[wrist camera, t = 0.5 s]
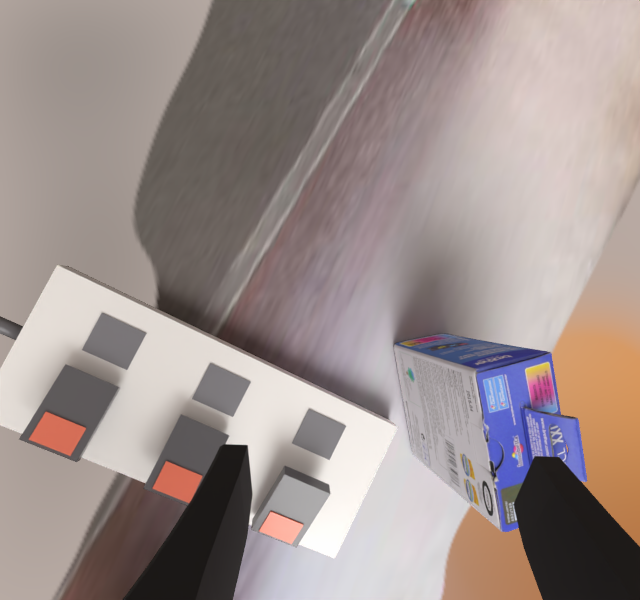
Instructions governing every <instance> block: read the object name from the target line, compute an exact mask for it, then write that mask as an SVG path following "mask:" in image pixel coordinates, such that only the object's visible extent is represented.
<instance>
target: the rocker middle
mask: <svg viewBox="0 0 640 600" xmlns="http://www.w3.org/2000/svg"><path fill="white" fill-rule="evenodd" d="M228 438H229V435H228V434H226V433H223V432H221V431H219V430H216V429H214V428H212V427H210V426H207V425H205V424H203V423H200V422H198V421H196V420H194V419H191V418H189V417H187V416H184V415H182V414H181V415H180V417H179V419H178V421H177V423H176V425H175V427H174V429H173V431H172V433H171V434H170V436H169V438H168V440H167V442H166V444H165V446H164V448H163V450H162V452H161V454H160V456H159V458H158V460H157V462H156V464H155V466H154V468H153V470H152V472H151V474H150V476H149V478H148V480H147V482H146V484H145V486H144V488H143V489H146V490H148V491H151V492H154V493H156V494H159V495H161V496H164V497H166V498H169V499H171V500H174V501H176V502H179V503H181V504H184V505H186V506H188V504H189V503H190V501H191V500H192V498H193V496H194V494H195V493H196V491H197V489H198V488H199V486H200V484H201V482H202V481H203V479H204V477H205V475H206V473H207V471H208V470H209V468H210V466H211V464H212V462H213V460H214V458H215V456H216V454H217V452H218V450H219V447H220V446H222V445H223V444H226V442H227V440H228Z"/></svg>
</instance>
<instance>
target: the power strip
mask: <svg viewBox="0 0 640 600" xmlns="http://www.w3.org/2000/svg"><path fill="white" fill-rule="evenodd" d="M0 334H3V335H5V336H8V337H10V338H12V339H15V340H16V341H15V343H14V345H13V347H12V348H11V350H10V352H9V354H8V356H7V357H6V359H5V361H4V363H3V365H2V366H1V368H0V425H1V426H3V427H6V428H8V429H11V430H13V431H16V432H18V433H21V434H23V432H24V430H25V429H26V427H27V426H28V424H29V422H30V421H31V419H32V417H33V416H34V414H35V413H36V411H37V409H38V408H39V406H40V405H41V403H42V401H43V400H44V398H45V396H46V395H47V393H48V392H49V390H50V388H51V387H52V385H53V384H54V382H55V380H56V379H57V377H58V375H59V374H60V372H61V371H62V369H63V367H64V366H65V364H67V365H70V366H72V367H74V368H77V369H79V370H81V371H83V372H86V373H88V374H90V375H93V376H95V377H97V378H99V379H102V380H104V381H106V382H109V383H111V384H113V385H116V386H118V387H120V390H119V392H118V393H117V395H116V397H115V399H114V400H113V402H112V404H111V406H110V408H109V409H108V411H107V413H106V415H105V416H104V418H103V420H102V422H101V423H100V425H99V427H98V429H97V431H96V432H95V434H94V436H93V438H92V439H91V441H90V443H89V445H88V447H87V448H86V450H85V452H84V454H83V455H82V457H81V458H84V459H86V460H89V461H91V462H94V463H96V464H99V465H101V466H104V467H106V468H109V469H111V470H114V471H116V472H119V473H121V474H124V475H126V476H129V477H131V478H134V479H136V480H139V481H141V482H144V483H146V482H147V480H148V478H149V476H150V474H151V472H152V470H153V468H154V466H155V464H156V462H157V460H158V458H159V456H160V454H161V452H162V450H163V448H164V446H165V444H166V442H167V440H168V438H169V436H170V434H171V433H172V431H173V429H174V427H175V425H176V423H177V421H178V419H179V417H180V415H181V414H182V415H184V416H187V417H189V418H191V419H194V420H196V421H198V422H200V423H203V424H205V425H207V426H210V427H212V428H214V429H216V430H219V431H221V432H223V433H226V434H228V435H229V438H228V440H227V442H226V444H234V445H248V453H249V463H250V473H251V483H252V493H253V495H252V503H251V511H250V519H249V525H252V519H253V517H254V516H255V514H256V512H257V511H258V509H259V507H260V506H261V504H262V502H263V501H264V499H265V497H266V496H267V494H268V492H269V491H270V489H271V487H272V486H273V484H274V482H275V481H276V479H277V477H278V476H279V474H280V472H281V471H282V469H283V467H284V466H287V467H290V468H292V469H294V470H297V471H299V472H301V473H304V474H306V475H308V476H311V477H313V478H315V479H317V480H320V481H322V482H324V483H327V484H329V487H330V496H329V497H328V499H327V500H326V502H325V503H324V505H323V507H322V508H321V510H320V511H319V513H318V514H317V516H316V518H315V519H314V521H313V522H312V524H311V525H310V527H309V529H308V530H307V532H306V533H305V535H304V536H303V538H302V540H301V541H300V543H299V545H302V546H304V547H307V548H310V549H312V550H315V551H317V552H320V553H322V554H325V555H327V556H330V557H332V558H335V557H336V555H337V553H338V551H339V549H340V547H341V545H342V543H343V541H344V539H345V536H346V534H347V532H348V530H349V528H350V526H351V524H352V522H353V520H354V518H355V516H356V514H357V512H358V510H359V507H360V505H361V503H362V501H363V499H364V497H365V495H366V493H367V491H368V489H369V487H370V485H371V483H372V480H373V478H374V476H375V474H376V472H377V470H378V468H379V466H380V464H381V462H382V460H383V458H384V456H385V454H386V451H387V449H388V447H389V445H390V443H391V441H392V439H393V437H394V435H395V433H396V431H397V429H398V427H397V426H396V425H395V424H394V423H392V422H391V421H390V420H389V419H386V418H384V417H382V416H380V415H378V414H376V413H374V412H372V411H370V410H368V409H366V408H363V407H361V406H359V405H357V404H355V403H353V402H351V401H349V400H347V399H345V398H343V397H340V396H338V395H336V394H334V393H332V392H330V391H328V390H326V389H324V388H322V387H320V386H317V385H315V384H313V383H311V382H309V381H307V380H305V379H303V378H301V377H299V376H297V375H294V374H292V373H290V372H288V371H286V370H284V369H282V368H280V367H278V366H276V365H274V364H271V363H269V362H267V361H265V360H263V359H261V358H259V357H257V356H255V355H253V354H251V353H248V352H246V351H244V350H242V349H240V348H238V347H236V346H234V345H232V344H230V343H228V342H225V341H223V340H221V339H219V338H217V337H215V336H213V335H211V334H209V333H207V332H204V331H202V330H200V329H198V328H196V327H194V326H192V325H190V324H188V323H186V322H184V321H181V320H179V319H177V318H175V317H173V316H171V315H169V314H167V313H165V312H163V311H161V310H158V309H156V308H154V307H152V306H150V305H148V304H146V303H144V302H142V301H140V300H137V299H135V298H133V297H131V296H129V295H127V294H125V293H123V292H121V291H118V290H116V289H115V288H112V287H110V286H108V285H106V284H104V283H102V282H100V281H98V280H96V279H94V278H92V277H89V276H87V275H85V274H83V273H81V272H79V271H77V270H75V269H73V268H70V267H69V266H62V265H57V266H56V268H55V270H54V272H53V274H52V275H51V277H50V279H49V281H48V283H47V285H46V286H45V288H44V290H43V292H42V294H41V295H40V297H39V299H38V301H37V303H36V305H35V306H34V308H33V310H32V312H31V314H30V315H29V317H28V319H27V321H26V323H25V325H24V326H20V325H18V324H16V323H14V322H11V321H9V320H7V319H5V318H3V317H0Z"/></svg>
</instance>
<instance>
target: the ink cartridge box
mask: <svg viewBox="0 0 640 600" xmlns="http://www.w3.org/2000/svg"><path fill="white" fill-rule="evenodd" d="M394 352H395V358H396V363H397V369H398V375H399V380H400V386H401V391H402V397H403V402H404V408H405V414H406V419H407V425H408V430H409V436H410V441H411V447H412V452H413V455H414V457H416V458H417V459H418V460H419V461H420V462H421V463H423V464H424V465H425V466H426V467H427V468H429V469H430V470H431V471H432V472H433V473H434V474H435V475H437V476H438V477H439V478H440V479H441V480H442V481H444V482H445V483H446V484H447V485H448V486H449V487H451V488H452V489H453V490H454V491H455V492H456V493H458V494H459V495H460V496H461V497H462V498H463V499H465V500H466V501H467V502H468V503H469V504H470V505H472V506H473V507H474V508H475V509H476V510H477V511H479V512H480V513H481V514H482V515H483V516H484V517H485V518H487V519H488V520H489V521H490V522H491V523H492V524H494V525H495V526H496V527H497V528H498V529H499V530H500V531H501V532H503V531H504V532H509V531H511V530H514V529H517V528H519V527H518V522H517V518H516V514H515V509H514V505H513V504H514V502H515V499H516V497H517V495H518V493H519V490H520V488H521V486H522V484H523V481H524V479H525V477H526V474H527V472H528V470H529V468H530V465H531V463H532V461H533V459H534V456H547V457H560V458H561V460H562V461H563V462H564V463H565V464H566V465H567V466H568V467H569V469H570V470H571V471H572V472H573V473H574V474H575V475H576V477H577V478H578V479H579V480H580V481H583V482H586V481H587V476H586V470H585V462H584V454H583V449H582V441H581V434H580V428H579V421H578V418H575V417H570V416H564V415H561V412H560V406H559V400H558V393H557V387H556V381H555V374H554V368H553V361H552V354H551V353H550V352H547V351H540V350H534V349H528V348H522V347H516V346H510V345H504V344H498V343H492V342H486V341H481V340H476V339H471V338H465V337H460V336H454V335H449V334H438V335H433V336H428V337H423V338H417V339H412V340H407V341H403V342H398V343H395V344H394ZM565 442H566V443H565ZM566 444H567V446H568V453H567V449H566Z"/></svg>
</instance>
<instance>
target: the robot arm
mask: <svg viewBox="0 0 640 600" xmlns="http://www.w3.org/2000/svg"><path fill="white" fill-rule="evenodd" d="M252 495H253V493H252V483H251V473H250V463H249V453H248V445H234V444H223V445H222V446H220V447H219V450H218V452H217V454H216V456H215V458H214V460H213V462H212V464H211V466H210V468H209V470H208V471H207V473H206V475H205V477H204V479H203V481H202V482H201V484H200V486H199V488H198V489H197V491H196V493H195V494H194V496H193V498H192V500H191V501H190V503H189V504H188V506H187V508H186V509H185V511H184V512H183V514H182V516H181V517H180V519H179V520H178V522H177V524H176V525H175V527H174V528H173V530H172V531H171V533H170V534H169V536H168V537H167V539H166V540H165V542H164V543H163V545H162V546H161V548H160V549H159V550H158V552H157V553H156V555H155V556H154V558H153V559H152V561H151V562H150V563H149V565H148V566H147V568H146V569H145V571H144V572H143V573H142V575H141V576H140V577H139V579H138V580H137V581H136V583H135V584H134V585H133V587H132V588H131V589H130V591H129V592H128V593H127V595H126V596H125V597H124V598H123V600H233V596H234V592H235V587H236V583H237V579H238V574H239V570H240V566H241V561H242V557H243V552H244V548H245V543H246V539H247V533H248V526H249V519H250V511H251V503H252ZM513 505H514V509H515V514H516V518H517V522H518V527H519V531H520V534H521V538H522V542H523V545H524V549H525V552H526V555H527V558H528V560H529V563H530V566H531V569H532V571H533V574H534V577H535V580H536V582H537V585H538V588H539V591H540V593H541V596H542V599H543V600H640V547H639V546H638V545H637V543H635V541H634V540H633V539H632V538H631V537H630V536H629V535H628V534H627V533H626V532H625V531H624V529H623V528H622V527H621V526H620V525H619V524H618V523H617V522H616V521H615V520H614V518H613V517H612V516H611V515H610V514H609V513H608V512H607V511H606V509H604V507H603V506H602V505H601V504H600V503H599V502H598V500H597V499H596V498H595V497H594V496H593V495H592V494H591V493H590V491H589V490H588V489H587V488H586V487H585V486H584V485H583V483H582V482H581V481H580V480H579V479H578V478H577V477H576V475H575V474H574V473H573V472H572V471H571V470H570V469H569V467H568V466H567V465H566V464H565V463H564V462H563V461H562V460H561V458H560V457H547V456H534V459H533V461H532V463H531V465H530V468H529V470H528V472H527V474H526V477H525V479H524V481H523V484H522V486H521V488H520V490H519V493H518V495H517V497H516V499H515V502H514V504H513Z"/></svg>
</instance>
